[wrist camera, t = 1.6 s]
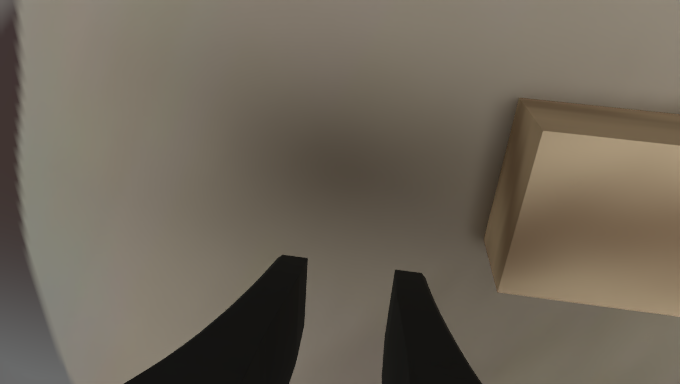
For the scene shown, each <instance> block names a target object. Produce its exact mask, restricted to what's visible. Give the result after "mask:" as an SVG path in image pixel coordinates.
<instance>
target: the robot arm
mask: <svg viewBox="0 0 680 384" xmlns="http://www.w3.org/2000/svg"><path fill="white" fill-rule="evenodd" d="M307 261H308V258H303V257H295V256H287V255H282V256H280V257H279V258H277V260H276V261H275V262H274V263H273V264H272V265H271V266H270V267H269V268H268V270H267V271H266V272H265V273H264V274H263V275H262V276H261V277H260V278H259V279H258V280H257V281H256V282H255V283H254V284H253V285H252V286H251V287H250V288H249V289H248V290H247V291H246V292H245V293H244V294H243V295H242V296H241V297H240V298H239V299H238V300H237V301H236V302H235V303H234V304H233V305H231V306H230V307H229V308H228V309H227V310H226V311H225V312H224V313H222V314H221V315H220V316H219V317H218V318H217V319H215V320H214V321H213V322H212V323H211V324H209V325H208V326H207V327H206V328H205V329H204V330H202V331H201V332H200V333H199V334H197V335H196V336H195V337H193V338H192V339H191V340H189V341H188V342H187V343H185V344H184V345H183V346H181V347H180V348H179V349H177V350H176V351H174V352H173V353H172V354H170V355H169V356H167V357H166V358H164V359H163V360H161V361H160V362H158V363H157V364H155V365H153V366H152V367H150V368H149V369H147V370H146V371H144V372H142V373H141V374H139V375H137V376H136V377H134V378H133V379H131V380H129V381H128V382H126V383H124V384H289V382H290V379H291V376H292V373H293V370H294V367H295V364H296V360H297V355H298V351H299V347H300V342H301V337H302V332H303V328H304V319H305V300H306V280H307ZM382 384H482V383H481V382H480V380H479V379H478V377H477V376H476V374H475V373H474V371H473V370H472V368H471V366H470V365H469V363H468V362H467V360H466V359H465V357H464V355H463V354H462V352H461V350H460V349H459V347H458V345H457V344H456V342H455V340H454V338H453V336H452V334H451V333H450V331H449V329H448V327H447V325H446V323H445V322H444V320H443V318H442V316H441V314H440V312H439V309H438V307H437V305H436V303H435V301H434V299H433V296H432V294H431V292H430V289H429V287H428V284H427V281H426V278H425V277H424V276H423V274H422V273H417V272H409V271H401V270H395V274H394V280H393V287H392V293H391V300H390V306H389V313H388V319H387V326H386V332H385V341H384V354H383V368H382Z"/></svg>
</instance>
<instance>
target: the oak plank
mask: <svg viewBox="0 0 680 384" xmlns="http://www.w3.org/2000/svg"><path fill="white" fill-rule="evenodd" d="M484 242H485V246H486V250H487V254H488V258H489V262H490V266H491V269H492V273H493V277H494V281H495V285H496V289H497V292H498V293H506V294H513V295H521V296H528V297H536V298H543V299H551V300H558V301H565V302H573V303H580V304H588V305H595V306H603V307H610V308H618V309H625V310H633V311H640V312H648V313H655V314H662V315H670V316H677V317H680V114H670V113H661V112H651V111H641V110H632V109H622V108H613V107H603V106H593V105H584V104H574V103H564V102H555V101H545V100H536V99H526V98H519V100H518V104H517V108H516V112H515V116H514V120H513V124H512V128H511V132H510V136H509V140H508V144H507V148H506V152H505V156H504V160H503V164H502V168H501V172H500V176H499V181H498V185H497V189H496V193H495V197H494V201H493V205H492V209H491V213H490V217H489V221H488V225H487V229H486V233H485V237H484Z"/></svg>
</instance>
